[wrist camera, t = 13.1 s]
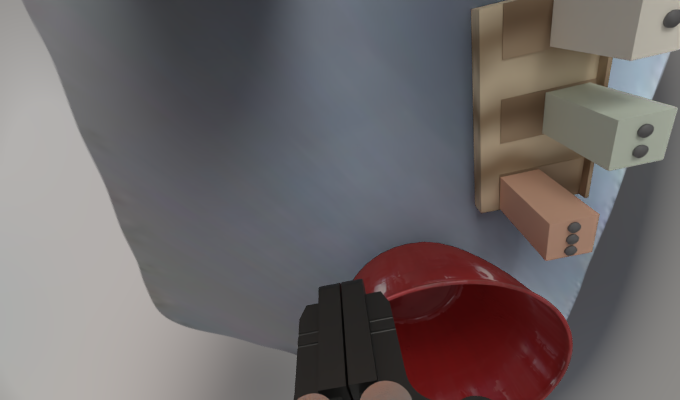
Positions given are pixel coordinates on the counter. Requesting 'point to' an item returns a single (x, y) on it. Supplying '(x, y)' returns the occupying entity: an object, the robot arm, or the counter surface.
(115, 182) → the counter surface
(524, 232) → the key
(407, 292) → the mixing bowl
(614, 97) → the grey green block
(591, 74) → the board
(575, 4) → the grey rectangular block
